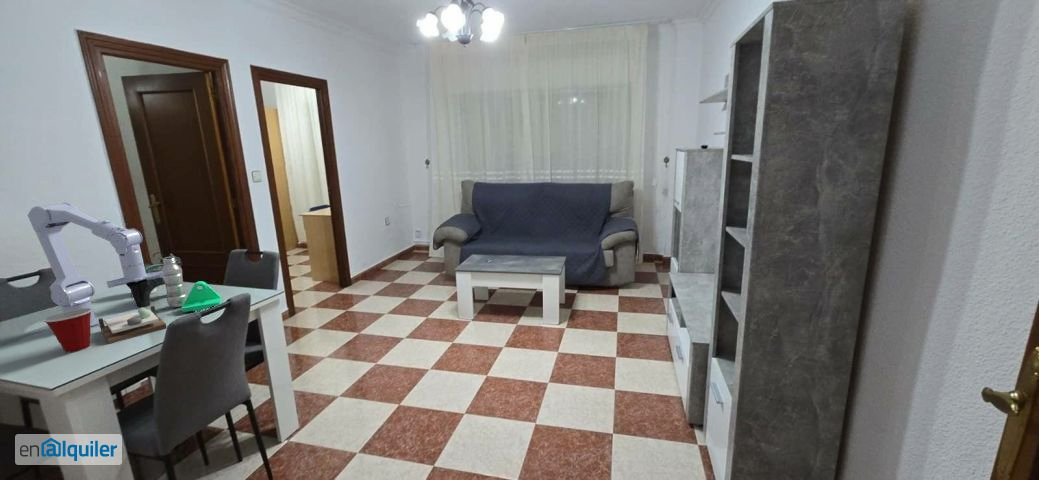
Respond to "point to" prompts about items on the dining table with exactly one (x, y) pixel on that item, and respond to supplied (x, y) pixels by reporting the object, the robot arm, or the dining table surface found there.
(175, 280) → the plastic bottle
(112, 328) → the instrument deck
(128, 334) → the walnut base
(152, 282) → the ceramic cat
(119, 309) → the dining table surface
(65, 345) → the plastic cup
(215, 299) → the green triangular piece
